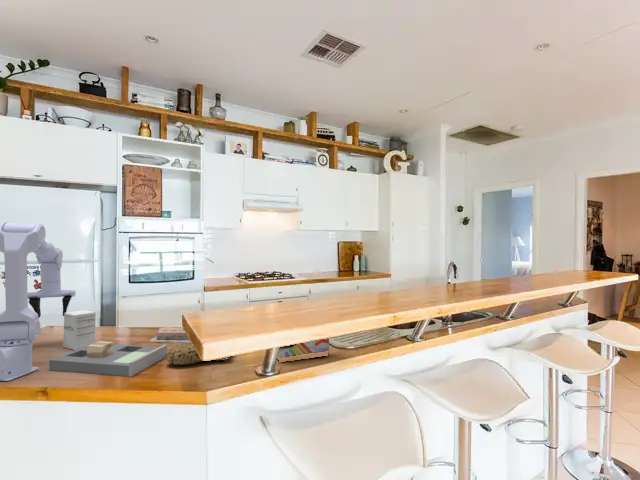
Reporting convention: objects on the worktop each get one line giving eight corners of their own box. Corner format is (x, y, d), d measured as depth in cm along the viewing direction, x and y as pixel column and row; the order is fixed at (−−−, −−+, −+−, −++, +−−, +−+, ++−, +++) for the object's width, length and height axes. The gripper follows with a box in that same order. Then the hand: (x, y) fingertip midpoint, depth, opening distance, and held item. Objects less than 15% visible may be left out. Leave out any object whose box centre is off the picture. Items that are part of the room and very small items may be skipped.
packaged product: (204, 325, 144) (195, 332, 134) (203, 337, 144) (195, 344, 134) (160, 324, 144) (149, 331, 134) (160, 336, 144) (148, 343, 134)
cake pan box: (276, 364, 113) (277, 310, 113) (272, 359, 118) (273, 307, 118) (329, 358, 120) (331, 307, 121) (324, 353, 125) (325, 304, 125)
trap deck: (131, 376, 101) (132, 362, 101) (49, 370, 104) (49, 356, 104) (167, 356, 118) (167, 344, 118) (95, 351, 122) (95, 340, 122)
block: (101, 358, 107) (101, 346, 107) (86, 357, 107) (87, 345, 107) (113, 352, 112) (113, 342, 112) (99, 351, 112) (99, 341, 112)
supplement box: (62, 347, 126) (63, 312, 126) (84, 342, 132) (85, 309, 132) (73, 350, 122) (74, 315, 122) (95, 345, 129) (96, 311, 129)
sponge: (230, 357, 123) (173, 347, 120) (235, 337, 122) (177, 326, 119) (224, 378, 110) (160, 367, 107) (230, 356, 109) (165, 344, 106)
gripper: (76, 276, 134) (77, 310, 135) (28, 278, 127) (29, 314, 128) (73, 281, 127) (74, 316, 129) (22, 283, 121) (24, 320, 122)
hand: (51, 316), depth 128 cm, fingers open, 7 cm apart
